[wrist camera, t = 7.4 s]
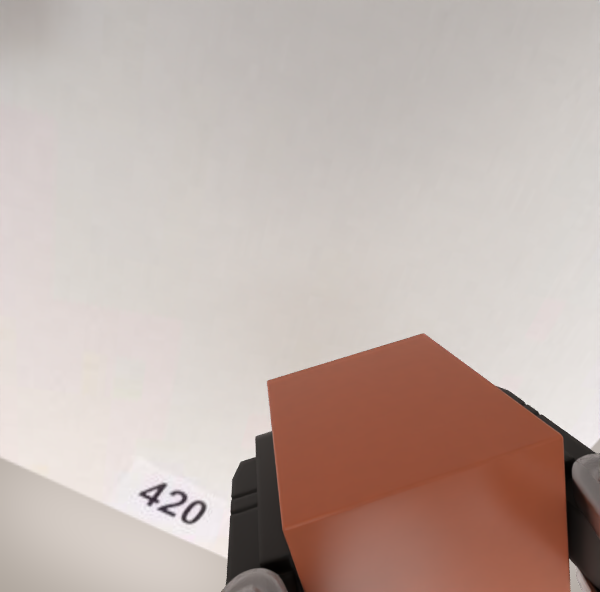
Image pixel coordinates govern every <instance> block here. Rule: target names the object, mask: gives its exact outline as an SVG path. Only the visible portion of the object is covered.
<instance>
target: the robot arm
mask: <svg viewBox="0 0 600 592" xmlns="http://www.w3.org/2000/svg"><path fill="white" fill-rule="evenodd" d="M496 387H497V386H496ZM497 388H499V389H500V390H502V391H503V392H504V393H506V394H507V395H508V396H510V397H511V398H512V399H514V400H515V401H516V402H518V403H519V404H521V405H522V406H523V407H525V408H526V409H527V410H529V411H530V412H531V413H533V414H534V415H536V416H537V417H538V418H540V419H541V420H542V421H544V422H545V423H546V424H548V425H549V426H550V427H552V428H553V429H555V430H556V431H557V432H559V433H560V434H561V435H562V436H563V443H564V464H565V485H566V507H567V528H568V550H569V559H570V560H571V561H572V562H573V563H574V564H575V565H576V577H577V581H578V583H579V585H580V588H581V589H582V591H583V592H600V453H595V452H593V451H592V450H591V449H589V448H588V447H586V446H585V445H584V444H582V443H581V442H579V441H578V440H577V439H575V438H574V437H573V436H571V435H570V434H568V433H567V432H566V431H564V430H563V429H561V428H560V427H559V426H557V425H556V424H554V423H553V422H552V421H550V420H549V419H547V418H546V417H545V416H543V415H542V414H541V415H540V414H539V413H538V411H536V410H535V409H534V408H532V407H531V406H529V405H526V404H525V402H524V401H522V400H521V399H520V398H518V397H517V396H515V395H514V394H513V393H511V392H510V391H508V390H505V389H503V388H500V387H497ZM255 441H256V457H254V458H251V459H248V460H245V461H242V462H241V463H240V465H239V467H238V469H237V471H236V473H235V475H234V477H233V479H232V495H231V497H232V500H231V516H230V530H229V547H228V565H227V580H226V586H225V588H224V589H223V590H222V591H221V592H304V590H303V587H302V584H301V581H300V578H299V575H298V573H297V570H296V567H295V564H294V561H293V558H292V556H291V553H290V550H289V547H288V544H287V541H286V539H285V536H284V533H283V530H282V521H281V512H280V502H279V493H278V483H277V473H276V464H275V454H274V444H273V435H272V431H271V432H268V433H265V434H262V435H259V436H256V439H255Z"/></svg>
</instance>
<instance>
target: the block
mask: <svg viewBox="0 0 600 592" xmlns="http://www.w3.org/2000/svg"><path fill="white" fill-rule="evenodd" d="M267 387H268V396H269V406H270V415H271V425H272V435H273V444H274V454H275V464H276V473H277V483H278V493H279V502H280V512H281V521H282V530H283V533H284V536H285V539H286V541H287V544H288V547H289V550H290V553H291V556H292V558H293V561H294V564H295V567H296V570H297V573H298V575H299V578H300V581H301V584H302V587H303V590H304V592H570V574H569V573H570V571H569V550H568V528H567V507H566V485H565V464H564V443H563V436H562V435H561V434H560V433H559V432H557V431H556V430H555V429H553V428H552V427H550V426H549V425H548V424H546V423H545V422H544V421H542V420H541V419H540V418H538V417H537V416H536V415H534V414H533V413H531V412H530V411H529V410H527V409H526V408H525V407H523V406H522V405H521V404H519V403H518V402H516V401H515V400H514V399H512V398H511V397H510V396H508V395H507V394H506V393H504V392H503V391H502V390H500V389H499V388H497V387H496V386H495V385H493V384H492V383H491V382H489V381H488V380H487V379H485V378H484V377H483V376H481V375H480V374H478V373H477V372H476V371H474V370H473V369H472V368H470V367H469V366H468V365H466V364H465V363H464V362H462V361H461V360H459V359H458V358H457V357H455V356H454V355H453V354H451V353H450V352H449V351H447V350H446V349H445V348H443V347H442V346H440V345H439V344H438V343H436V342H435V341H434V340H432V339H431V338H430V337H428V336H427V335H426V334H420V335H416V336H413V337H410V338H406V339H403V340H400V341H397V342H393V343H390V344H387V345H383V346H380V347H377V348H373V349H370V350H367V351H364V352H360V353H357V354H354V355H350V356H347V357H344V358H341V359H337V360H334V361H331V362H327V363H324V364H321V365H317V366H314V367H311V368H308V369H304V370H301V371H298V372H294V373H291V374H288V375H285V376H281V377H278V378H275V379H271V380H268V381H267Z"/></svg>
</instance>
